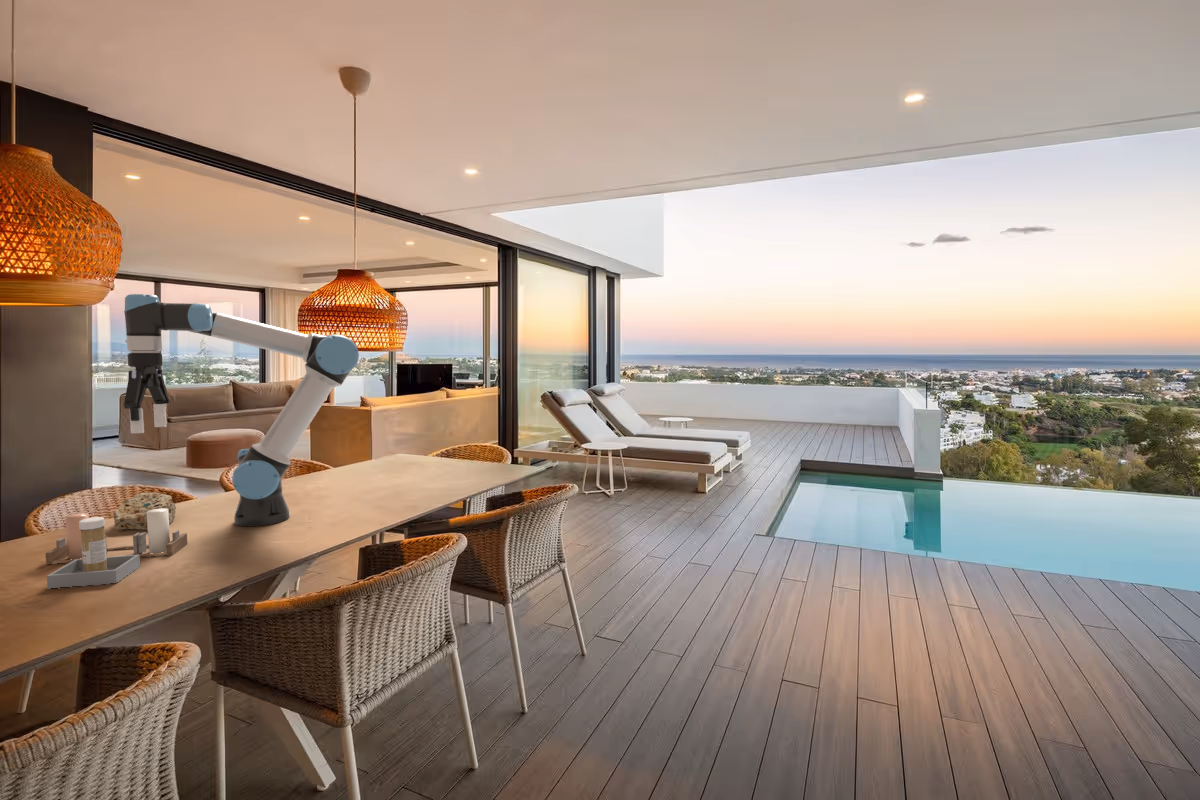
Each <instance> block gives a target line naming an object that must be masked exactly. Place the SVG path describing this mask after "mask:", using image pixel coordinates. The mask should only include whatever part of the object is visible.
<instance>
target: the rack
mask: <svg viewBox="0 0 1200 800" xmlns="http://www.w3.org/2000/svg"><path fill="white" fill-rule="evenodd" d="M171 537H172V540H170V542H169V543H168V544H166V548H167V552H164V553H153V554H150V553H146V552H147V551H148V550H147V549H148V548H147V547H149V544H147V533H146V531H145V532H136V533H135V534H133V535H132V542H133V543H132V544H133V545H123V546H107V535H106V534H105V542H106V553H107V554H108V551H107V550H109V551H114V550H113V549H123V550H127V549H126V548H134V549H133V555H138V554H139V553H143V552H144V553H143V554H139V555H140V557H145V558H152V557H151V556H158V557H164V556H163V555H172V556H174V555H175V554H176V553H178V552H179V551H180V550H181V549H183V548H184V547H186V546H187V545H188V533H187V532H183V533H181V534H180V530H178V529H176V530H174V531H173V532H172V536H171ZM55 545H56V547H55V548H53V549H50V550H49V551H47V552H45V563H46V564H52V565H58V564H57V563H65V564H68V563H69V562H72V561H74V560H76V559H72V560H69V559H65V558H67V557H68V549H67V541H66V537H61V538H59V539H57V540H56V541H55ZM146 550H147V551H146ZM137 553H138V554H137ZM173 554H174V555H173ZM66 556H67V557H66ZM125 556H127V555H126V554H125ZM64 557H65V558H64ZM62 558H63V559H62ZM60 559H61V560H60Z"/></svg>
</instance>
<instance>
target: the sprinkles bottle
mask: <svg viewBox="0 0 1200 800" xmlns="http://www.w3.org/2000/svg"><path fill="white" fill-rule="evenodd" d="M105 525H106V524H105V518H104V517H102V516H96V517H93V516H92V517H89V518H87V519H83V520H81V521H79V529H80V531H81V542H82V544H81V546H82V560H83V570H84V572H92V571H105V570H107V563H106V559H107V557H108V556H107V554H106V544H107V541H106V542H105V535H106V534H105Z"/></svg>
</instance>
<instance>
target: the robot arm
mask: <svg viewBox="0 0 1200 800" xmlns="http://www.w3.org/2000/svg"><path fill="white" fill-rule="evenodd" d="M123 313H124V318H125V319H124V321H125V332H126V333H125V334H126V339H125V341H124V342H125V344H126V349H127V351H128V352H129V353H128V354H127V366H128V367H129V368H135V369H134V370H128V372H127V373H128V379H127V380H128V381H127V386H126V392H125V396H124V401H123V406H124V407H123V408H124V409H125V410H126V409H127V410H128V409H129V423H130V424H129V425H130V434H144V433H145V423H144V409H143V408H142V403H143V401H144V397H145V395H146V391H147V389H148V391H149V393H150V395H151V397H152V400H153V402H154V403H153V404H152V406H153V423H154V424H153V425H154V428H166V427H167V407H166V404H170V397H169V394H168V390H167V387H166V383H165V380H164V374H163V369H162V368H159V369H157V368H158V367H162V366H163V365H164V363H163V354H162V353H161V351H163V345H162V344H163V343H162V342H163V341H162V331H177V332H178V331H179V332H180V331H181V332H183V331H184V332H190V333H194V334H200V335H203V336H204V335H205V336H208V337H212V338H217V339H221V340H225V341H230V342H234V343H238V344H242V345H246V346H250V347H255V348H258V349H261V350H262V349H263V350H268V351H272V352H276V353H279V354H283V355H287V356H293V357H295V358H300V359H302V360H303V361H304V362H305V364H304V369H305V375H304V376H303V377H302V379H301V381H300V382H299V383H298V385H297V386H296V387H295V389H294V391H293V393H292V394H291V396H290V397H289V399H288V400H287V402H286V404H285V405H284V406H283V408H282V410H281V411H280V412H279V414H278V415H277V417H276V419H275V420H274V421H273V423H272V425H271V426H270V428H269V429H268V431H267V432H266V434H265V435H264V436H263V438H262V440H261V441H260V442H259V443H253V444H252V445H251V446H250V448H243V449H240V450H238V452H237V461H238V463H237V464H238V466H237V467H236V468H235V469H234V471H233V474H232V485H233V488H234V490H235V491H236V493H238V494H239V499H238V504H237V507H236V510H235V513H234V516H233V517H234V520H233V521H234V524H235V525H236V526H239V527H257V526H258V527H259V526H268V525H274V524H278V523H280V522H283V521H285V520H288V519H289V518H290V510H289V507H288V504H287V502H286V499H285V496H284V494H283V483H282V478H283V477H284V475H285V474H286V472H287V470H288V468H290V467H289V466H290V465H291V463H292V462H291V458H290V456H291V454H292V452H293V451H294V449H295V448H296V446H297V445H298V443H299V441H300V439H302V437H303V435H304V433H306V431H307V429H308V427H309V426H310V424H311V423H312V421H313V420H314V419H315V417H316V416H317V414H318V412H319V411H320V409H321V407H322V406H323V404H324V403H325V401H326V400H327V398H328V396H330V393H331V392H332V390H333V389H334V388H336V387H340V386H342V384H343V383H344V382H345V380H346V378H348V375H349V374H350V372H351V371H352V370H353V369H354V368H356V366H357V364H358V362H359V356H360V354H359V349H358V347H357V345H356V343H355V342H354V341H353V340H351V339H350V338H349V337H347V336H345V335H343V334H337V333H336V334H335V333H334V334H329V335H323V334H319V333H318V334H317V333H314V332H311V333H309V334H304V333H300V332H297V331H295V330H294V331H292V330H288V329H286V328H281V327H277V326H274V325H269V324H265V323H261V322H257V321H253V320H251V319H250V320H249V319H246V318H242V317H238V316H234V315H230V314H226V313H222V312H217V311H214V310H212V308H211V306H210V305H209V304H207V303H206V304H204V303H197V302H196V303H195V302H193V303H183V302H181V303H179V302H178V303H176V302H174V303H172V302H169V303H167V302H161V301H160V299H159V296H157V295H156V294H155V295H154V294H143V293H142V294H140V293H139V294H138V293H132V294H131V293H130V294H126V295H125V297H124V310H123ZM156 367H157V368H156Z"/></svg>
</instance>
